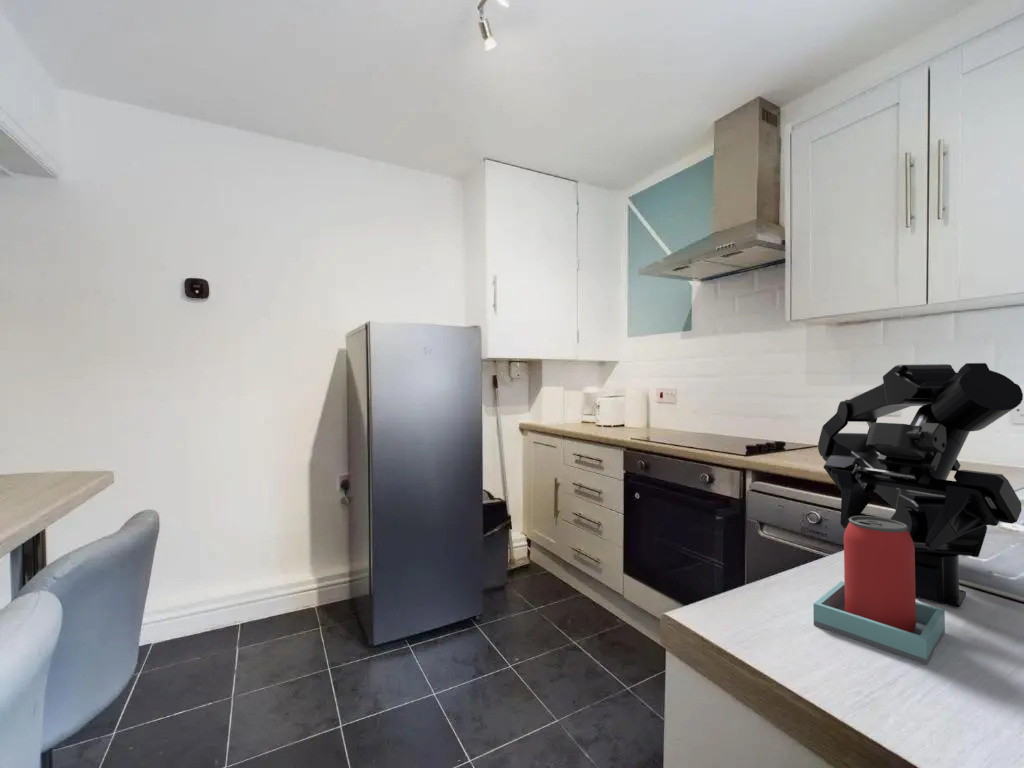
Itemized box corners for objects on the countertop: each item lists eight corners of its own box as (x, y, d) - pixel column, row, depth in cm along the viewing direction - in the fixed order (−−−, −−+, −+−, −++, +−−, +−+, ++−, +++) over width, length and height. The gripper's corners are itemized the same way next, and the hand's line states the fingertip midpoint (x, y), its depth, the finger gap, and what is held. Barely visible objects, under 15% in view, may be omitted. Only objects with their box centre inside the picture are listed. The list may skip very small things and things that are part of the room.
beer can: (846, 604, 59) (844, 511, 59) (914, 620, 55) (912, 520, 55) (843, 625, 54) (842, 523, 54) (918, 644, 49) (916, 534, 50)
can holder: (841, 600, 61) (841, 581, 61) (944, 632, 53) (944, 610, 53) (813, 625, 55) (813, 603, 55) (926, 665, 47) (926, 639, 47)
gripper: (830, 400, 67) (779, 480, 63) (1005, 401, 50) (952, 512, 45) (865, 450, 70) (818, 531, 65) (1042, 468, 53) (995, 579, 48)
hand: (882, 536), depth 56 cm, fingers open, 9 cm apart
